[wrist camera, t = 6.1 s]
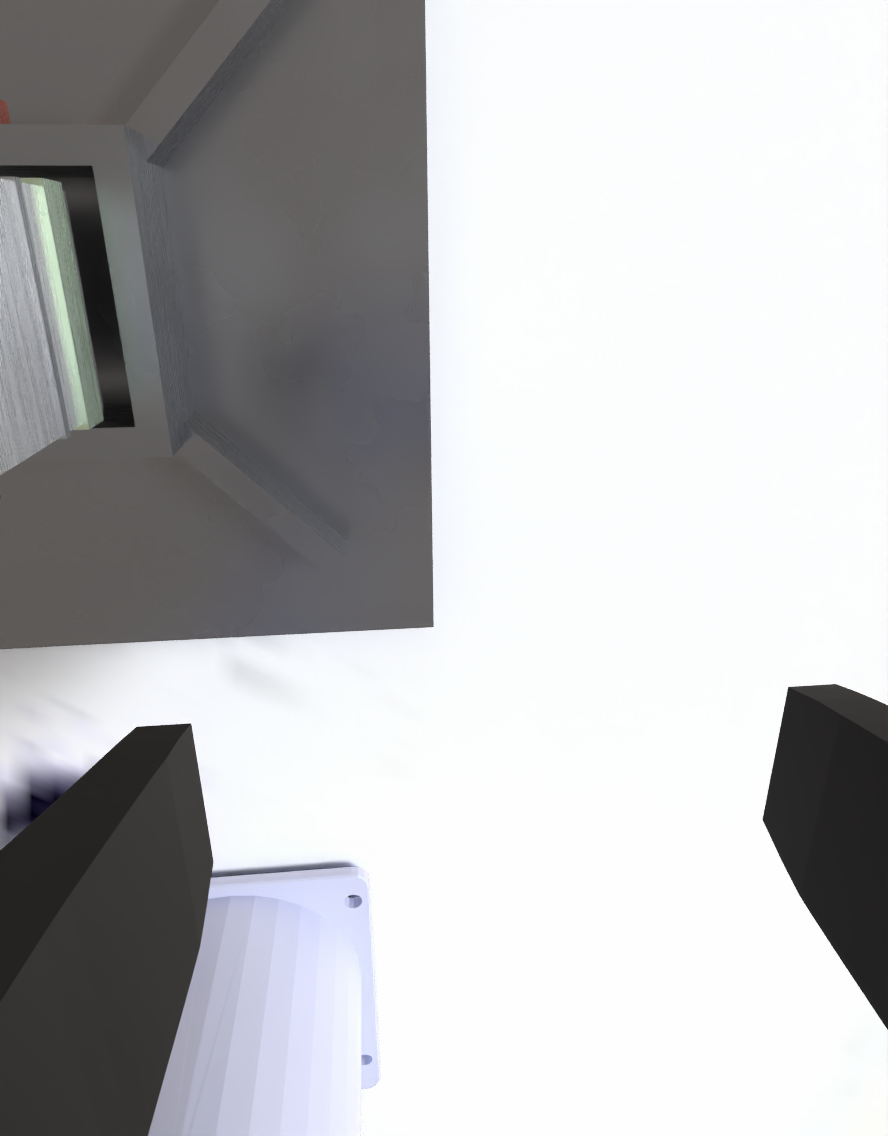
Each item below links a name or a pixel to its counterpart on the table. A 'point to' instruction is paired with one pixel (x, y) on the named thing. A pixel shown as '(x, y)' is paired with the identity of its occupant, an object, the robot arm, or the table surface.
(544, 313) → the table surface
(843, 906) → the robot arm
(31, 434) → the grey rectangular block
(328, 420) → the stand base
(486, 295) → the table surface
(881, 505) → the table surface
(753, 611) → the table surface
